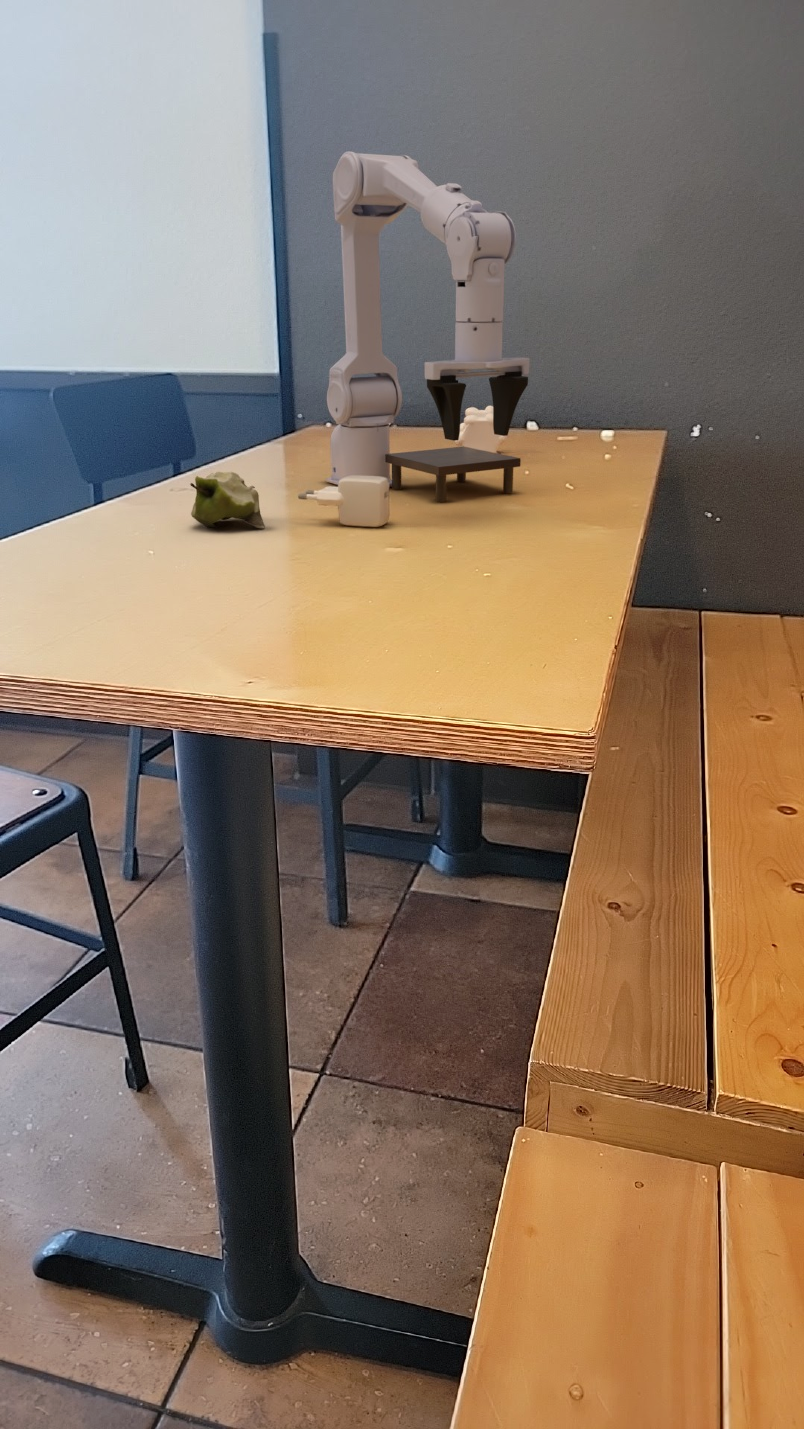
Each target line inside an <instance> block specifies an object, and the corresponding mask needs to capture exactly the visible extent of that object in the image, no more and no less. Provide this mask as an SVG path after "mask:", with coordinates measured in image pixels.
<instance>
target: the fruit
mask: <svg viewBox="0 0 804 1429" xmlns="http://www.w3.org/2000/svg"><path fill="white" fill-rule="evenodd" d="M194 482H195V484H194ZM194 482H191V483H190V486H191V487H192V488H194V489H195V491H196V494H195V500H194V503H193V505H192V510H191V513H190V516H191V517H192V518H193V519H194V520H195V521H197V522H198V523H200V524H201V525H203V526H205V527H207V528H214V529H215V528H216V529H219V528H220V527H219V526H217V525H215V524H214V523H217V522H219V521H227V520H230V519H237V520H240V521H241V520H242V521H244V522H245V523H247V524H249V525H251V526H253V527H254V528H257V529H263V530H264V529H265V528H266V525H265V522H264V520H263V517H262V514H261V508H260V494H259V492H258V490H256V487H255V486H254V485H250V486H247V485H246V484H245V479H244V478H242V477H240V475H239V474H238V473H236V472H233V471H227V472H222V471H216V472H215V473H213V472H212V473H210V474H208V475H207V476H206V477H205V478H204V477H200V476H199V475H197V476H195V479H194Z"/></svg>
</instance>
